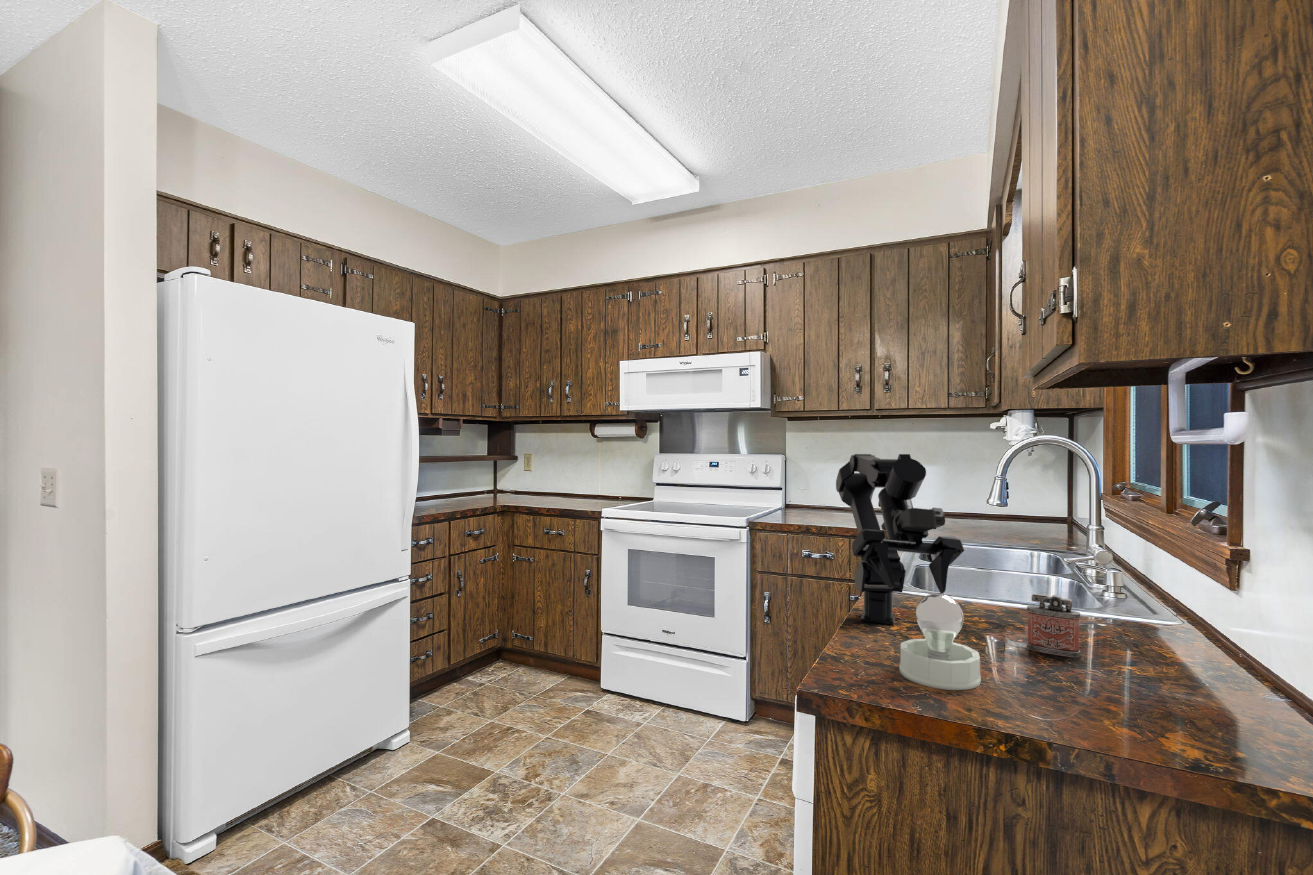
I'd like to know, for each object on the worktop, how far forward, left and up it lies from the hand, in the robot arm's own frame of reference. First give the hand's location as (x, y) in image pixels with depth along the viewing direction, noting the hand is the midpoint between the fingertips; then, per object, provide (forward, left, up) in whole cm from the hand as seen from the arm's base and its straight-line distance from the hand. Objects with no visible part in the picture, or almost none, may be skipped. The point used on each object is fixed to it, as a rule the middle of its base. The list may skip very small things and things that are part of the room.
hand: (917, 589), depth 109 cm
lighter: (-13, +22, -12) cm, 28 cm away
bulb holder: (+8, +3, -12) cm, 14 cm away
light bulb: (+8, +3, -11) cm, 14 cm away
